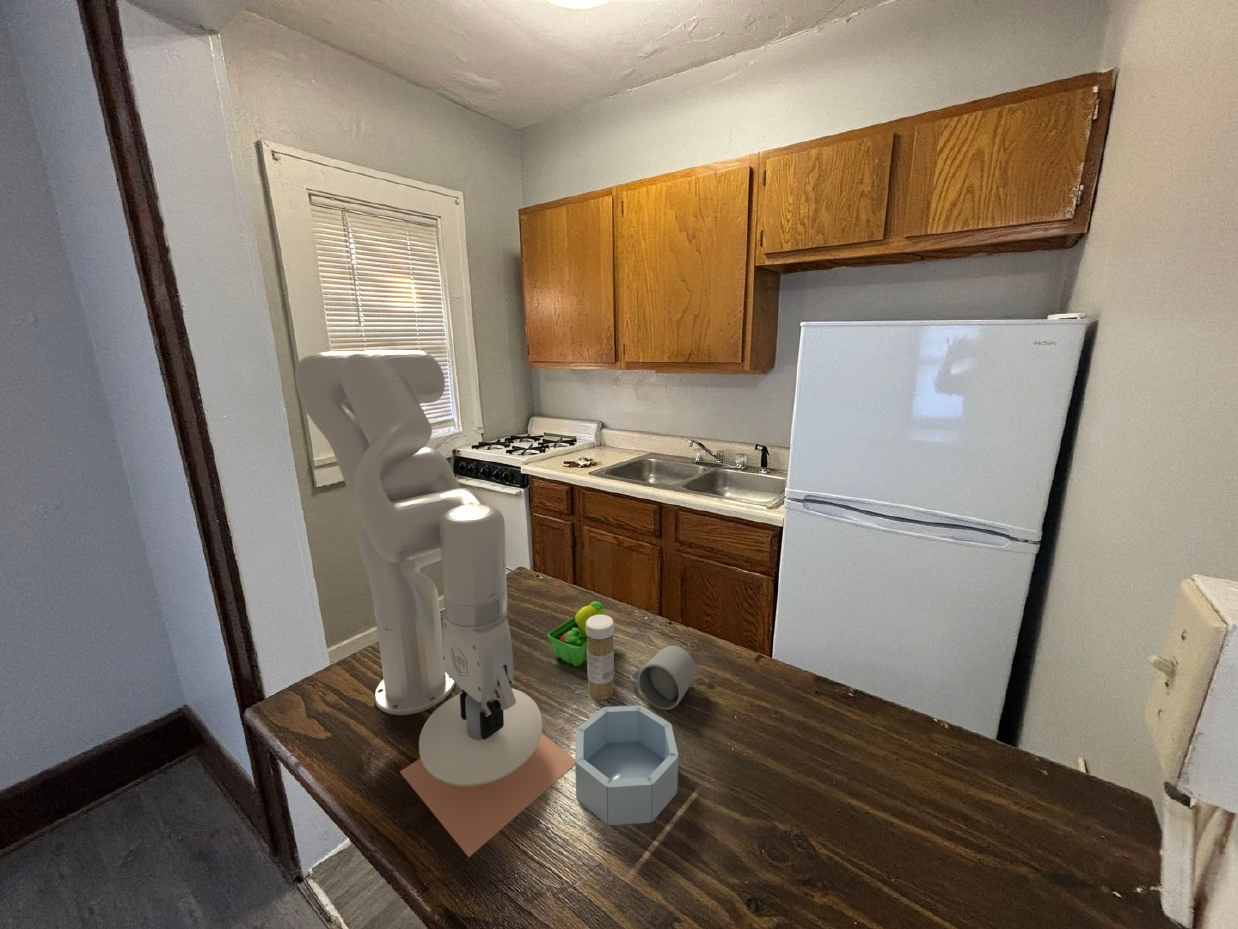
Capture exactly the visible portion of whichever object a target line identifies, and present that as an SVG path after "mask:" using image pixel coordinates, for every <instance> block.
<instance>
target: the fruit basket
mask: <svg viewBox="0 0 1238 929" xmlns="http://www.w3.org/2000/svg"><path fill="white" fill-rule="evenodd" d="M594 615H605V610H604V605H603V603H602V602H600V601H597V600H596V601H591V602H590V603H589V605H586V606H583V607H581V608H580V609H579V610H578V611H577V612H576V614H575V616H573V617H572V618H570V619H569V620H567V621H565V622H564V623H562V624H561V625H559V626H558V627H556V628H555V629H553V630H551V631H550V632H548V633H547V637H548V640H549V641H550V644H551V647H552V650H553V653H554V655H555V657H556V658H558V659H561V660H562V661H564V662H566V663H567V664H572V666H574V667H580V666H581V665H583V663H584V662H587V634H586V621H587V620H588V619H589V618H590V617H592V616H594Z"/></svg>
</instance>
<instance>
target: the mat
mask: <svg viewBox="0 0 1238 929" xmlns="http://www.w3.org/2000/svg"><path fill="white" fill-rule="evenodd" d="M574 766H575V757H573V756H572V755H570V754H569V753H568V752H567V751H565V750H564V749H563V748H561V747H560V746H559V745H558V744H557V743H555V742H554V741H553V740H552V739H550V738H549V737H548V736H547V735H545V734H544V733H543V732H542V733H541V738H540V741H539V744H538V746H537V748H536V749H535V751H534V752H533V754H532V755H531V757H530V758H529V759H528V760H527V761H526V762H525V763H524V764H523V765H522V766H521V767H520V768H518V769H517V770H515V771H514V772H513V773H511V774H509V775H507V776H506V777H504V778H501V779H499V780H497V781H494V782H491V783H488V784H483V785H479V786H455V785H450V784H447V783H444V782H442V781H439V780H437V779H436V778H434V777H433V776H432V775H431V774H430V773H429V772H428V771H427V770H426V769H425V767H424V766H423V764H422V761H421V758H420V757H419V758H418V759H417V760H415V761H414V762H413V763H411V764H410V765H408V766H406V767H405V768H403V769H402V770H400V771H399V773H400V774H401V775H402V777H403V778H404V779H405V780H406V782H408V784H409V785H410V786H411V788H412V789H413V790H414V791H415V793H416V794H417V796H419V798H420V799H421V800H422V802H424V804H425V806H426V807H427V808H429V810H430V811H431V813H432V814H433V815H434V816H435V818H436V819H437V820H438V822H439V823H440V824H441V825H442V826H443V827H444V829H445V830H446V831H447V832H448V833H449V835H450V836H451V837H452V839H453V840H454V841H455V843H457V845H458V846H459V847H460V849H461V850H462V851H463V852H464V853H465V855H466V856H467V858H470V857H472V855H473V854H475V853H476V852H477V851H478V850H479V849H481V847H483V846H484V845H485V844H486V843H487V842H488V841H490V840H491V839H492V838H493V837H495V835H497V834H498V833H499V832H500V831H502V829H504V828H505V827H506V826H507V825H508V824H509V823H510V822H511V821H512V820H514V819H515V818H516V817H517V816H519V815H520V813H522V812H523V811H524V810H525V809H526V808H527V807H529V806H530V805H531V804H532V803H533V802H535V800H537V799H538V798H539V797H540V796H541V795H542V794H543V793H545V792H546V791H547V790H548V789H550V787H551V786H553V785H554V784H555V783H556V782H557V781H559V779H561V778H562V777H563V776H564V775H565V774H567V773H568V771H570V770H571V769H572V768H574Z"/></svg>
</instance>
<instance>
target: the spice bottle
mask: <svg viewBox="0 0 1238 929" xmlns="http://www.w3.org/2000/svg"><path fill="white" fill-rule="evenodd" d="M614 622H615V621H614V619H613V618H612V617H611V616H610V615H606V614H604V615H594V616H592V617H590V618H589V619H588V620H587V621H586V634H587V660H586V662H587V666H586V667H587V668H586V669H587V685H588V686H587V694H588V696H589V697H590V698H592V699H593V700H599V701H602V700H603V701H604V700H606V699H609V698H611V697H612V696H613V695H614V693H615V688H614V677H615V658H614V656H615V652H614V651H615V649H614V633H615V623H614Z"/></svg>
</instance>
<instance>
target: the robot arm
mask: <svg viewBox="0 0 1238 929" xmlns="http://www.w3.org/2000/svg"><path fill="white" fill-rule="evenodd" d="M294 378H295V384H296V385H295V386H296V389H297V393H298V397H299V400H300V402H301V404H302V407H303V409H304V410H305V412H306V414H307V415H308V417H309V419H310V420H311V422H312V423H313V424H314V425H315V427H316V428H317V430H319V431H320V433H321V434H322V435H323V436H324V438H325V439H326V441H327V442H328V443H329V446H330V448H331V449H332V452H333V455H334V457H335V460H336V463H337V465H338V466H337V467H339V470H340V473H341V475H342V478H343V481H344V483H345V486H346V488H347V491H348V493H349V496H350V498H351V500H352V502H353V503H354V504H355V506H356V507H357V510H358V513H359V516H360V518H361V521H362V523H363V526H361V528H360V530H359V533H358V538H357V543H358V549H359V554H360V556H361V560H362V562H363V564H364V568H365V571H366V575H367V578H368V581H369V586H370V592H371V597H372V603H373V610H374V615H375V623H376V624H375V625H376V632H377V637H378V639H377V640H378V645H379V654H380V661H381V662H380V663H381V668H382V678H383V679H382V680H381V681H380V683H379V684H378V686H377V687H376V688H375V693H374V701H375V704H376V707H377V708H378V709H379V710H380V711H382V712H384V713H385V714H388V715H394V716H406V715H414V714H417V713H420V712H424V711H426V710H430V709H431V708H433V707H434V706H437V705H438V704H440V703H441V702H442V701H444V700H445V699H446V698H447V697H448V696H449V695H450V694H451V693H452V691H453V689H455V685H456V687H457V688H456V689H457V691H458V693H459V694H460V708H461V718H462V719H463V720H466V705H465V698H466V696H467V694H469V695H470V696H471V697H472V698H473V699H475V700H476V701H478V702H480V703H481V704H482V710H483V711H482V712H481V713H480V729H481V737H482V738H483V739H484V740H485V739H487V738H488V737H490V736H491V735H492V734H494V733H495V732H497V731H498V730H500V729H501V728H502V727H503V725H504V718H503V710H506V709H509V708H510V707H512V706H513V705H515V704H516V700H515V697H514V694H513V691H512V689H511V688H512V686H513V683H514V678H515V676H514V672H515V670H514V669H515V668H514V654H513V644H512V637H511V630H510V626H509V620H508V616H507V614H508V590H507V588H508V587H507V564H506V563H507V558H506V555H507V553H506V528H505V527H506V525H505V518H504V515H503V513H502V512H501V511H500V510H499V509H498V508H496V507H495V506H492V505H488V504H486V502H484V501H483V500H482V498H481V496H480V495H478V494H477V492H475V491H474V490H472V489H470V488H466V487H461V486H460V485H459V482H458V480H457V478H456V475H455V474H454V471H453V469H452V467H451V465H450V463H449V461H448V459H447V458H446V457H445V456H444V454H443V453H441V452H440V451H439V450H438V449H436V448H434V447H433V448H432V447H427V446H426V445H427V444H428V442H429V441H430V440H431V438H432V435H433V434H432V433H433V431H432V430H433V428H432V424H431V422H430V420H429V419H428V417H427V416H426V413H425V412H424V409H423V408H422V406H421V404H432V403H435V402H437V401H439V400H441V398H442V397H443V394H444V392H445V388H446V386H445V384H446V383H445V382H446V380H445V375H444V372H443V369H442V367H441V365H440V363H439V362H438V361H437V359H436V358H435V357H434V356H432V355H431V354H430V353H428V352H426V351H424V350H417V349H416V350H415V349H413V350H411V349H410V350H405V349H404V350H402V349H399V350H398V349H396V350H395V349H394V350H393V349H387V350H385V349H384V350H383V349H372V350H371V349H369V350H363V351H362V350H361V351H360V350H358V351H357V350H356V351H355V350H342V351H341V350H337V351H333V350H331V351H323V352H316V353H312V354H309V355H306V356H304V357H302V358H301V360H300V361H299V362H298V363H297V364H296V368H295V374H294ZM439 561H441V574H442V575H441V576H442V586H443V588H442V589H443V590H442V591H443V601H444V602H443V603H444V612H443V617H442V620H441V611H440V608H441V607H440V601H439V593H438V589H437V586H436V584H435V582H434V581H433V580H432V579H431V578H429V576H427V575H425V574H424V573H422V572H421V571H420V570H421V568H423V567H425V566H428V565H431V564H433V563H435V562H439ZM461 693H462V694H461ZM494 693H496V697H497V699H496V700H494V701H493V702H491V703H490V701H489V700H491V699H492V697H493V695H494Z"/></svg>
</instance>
